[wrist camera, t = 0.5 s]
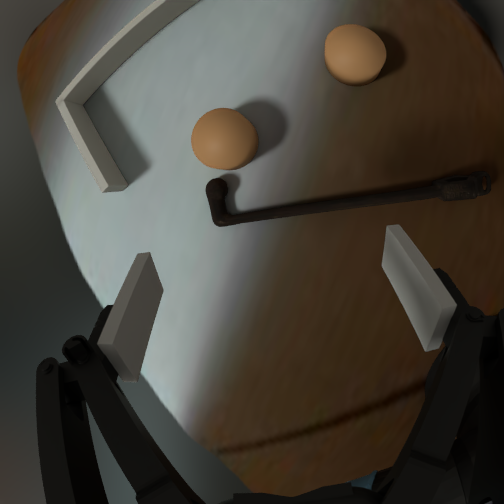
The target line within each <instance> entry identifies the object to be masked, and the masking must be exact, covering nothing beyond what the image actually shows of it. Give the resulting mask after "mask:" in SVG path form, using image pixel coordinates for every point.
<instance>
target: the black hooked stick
mask: <svg viewBox="0 0 504 504" xmlns="http://www.w3.org/2000/svg"><path fill="white" fill-rule="evenodd" d="M484 176H485V177H486V179H487V187H486V190H483V186H482V178H483V177H484ZM490 191H491V179H490V176H489V174H488V173H487V172H485V171H478V172H473V173H472V174H471V175H468V176H457V175H454V176H451V177H447V178H443V179H439V180H435V181H433V182H432V186H427V187H421V188H415V189H408V190H402V191H395V192H389V193H382V194H374V195H367V196H360V197H353V198H346V199H338V200H330V201H322V202H315V203H308V204H301V205H294V206H287V207H280V208H274V209H267V210H261V211H254V212H248V213H242V214H235V215H231V214H229V213H228V212H227V210H226V206H225V200H224V199H225V197H226V195H227V193H228V186H227V184H226V182H225V181H224V180H223V179H220V178H215V179H212V180H210V181H209V182H208V183H207V185H206V195H207V198H208V202H209V206H210V210H211V215H212V219H213V222H214V224H215V225H217V226H219V227H223V226H229V225H235V224H240V223H246V222H253V221H260V220H268V219H275V218H282V217H289V216H297V215H304V214H312V213H320V212H328V211H335V210H343V209H351V208H359V207H367V206H375V205H383V204H391V203H400V202H408V201H415V200H422V199H429V198H435V197H438V198H439V199H441V200H443V201H452V200H464V199H475V198H476V197H477V196H481V195H486V194H488V193H489V192H490Z"/></svg>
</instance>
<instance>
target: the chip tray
mask: <svg viewBox="0 0 504 504" xmlns="http://www.w3.org/2000/svg"><path fill="white" fill-rule="evenodd" d="M198 1H200V0H156V1H155V2H153V3H152V4H151V5H149V6H148V7H147V8H146V9H145V10H143V11H142V12H141V13H140V14H139V15H137V16H136V17H135V18H134V19H133V20H132V21H130V22H129V23H128V24H127V25H126V26H125V27H124V28H123V29H122V30H120V31H119V32H118V33H117V34H116V35H115V36H114V37H113V38H112V39H111V40H110V41H109V42H108V43H107V44H106V45H105V46H104V47H103V48H102V49H101V50H100V51H99V52H98V53H97V54H96V55H95V56H94V57H93V58H92V59H91V60H90V61H89V62H88V63H87V64H86V66H85V67H84V68H83V69H82V70H81V71H80V72H79V73H78V75H77V76H76V77H75V78H74V79H73V80H72V81H71V83H70V84H69V85H68V86H67V87H66V89H65V90H64V91H63V92H62V93H61V95H60V96H59V97H58V99H57V100H56V101H55V102H56V104H57V106H58V108H59V110H60V113H61V115H62V117H63V119H64V121H65V123H66V125H67V127H68V129H69V131H70V133H71V135H72V137H73V139H74V141H75V143H76V145H77V147H78V149H79V151H80V153H81V155H82V157H83V159H84V161H85V162H86V164H87V166H88V168H89V170H90V172H91V174H92V175H93V177H94V179H95V181H96V183H97V184H98V186H99V188H100V190H101V192H102V193H105V192H118V191H123V190H124V189H125V188H126V187H127V186H128V184H127V182H126V180H125V179H124V177H123V175H122V174H121V172H120V170H119V169H118V167H117V165H116V163H115V162H114V160H113V158H112V157H111V155H110V153H109V151H108V150H107V148H106V146H105V144H104V143H103V141H102V139H101V137H100V136H99V134H98V132H97V130H96V128H95V127H94V125H93V123H92V121H91V119H90V117H89V116H88V114H87V112H86V110H85V108H84V106H83V104H84V103H85V102H86V101H87V100H88V99H89V97H90V96H91V95H92V94H93V93H94V92H95V91H96V90H97V89H98V88H99V87H100V86H101V84H102V83H103V82H104V81H105V80H106V79H107V78H108V77H109V76H110V75H111V74H112V73H113V72H114V71H115V70H116V69H117V68H118V67H119V66H120V65H121V64H122V63H123V62H124V61H126V60H127V59H128V58H129V57H130V56H131V55H132V54H133V53H134V52H135V51H136V50H137V49H139V48H140V47H141V46H142V45H143V44H144V43H145V42H147V41H148V40H149V39H150V38H151V37H152V36H154V35H155V34H156V33H157V32H158V31H160V30H161V29H162V28H163V27H165V26H166V25H167V24H168V23H170V22H171V21H172V20H174V19H175V18H176V17H177V16H179V15H180V14H181V13H183V12H184V11H186V10H187V9H188V8H190V7H191V6H192V5H194V4H195V3H197V2H198Z"/></svg>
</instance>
